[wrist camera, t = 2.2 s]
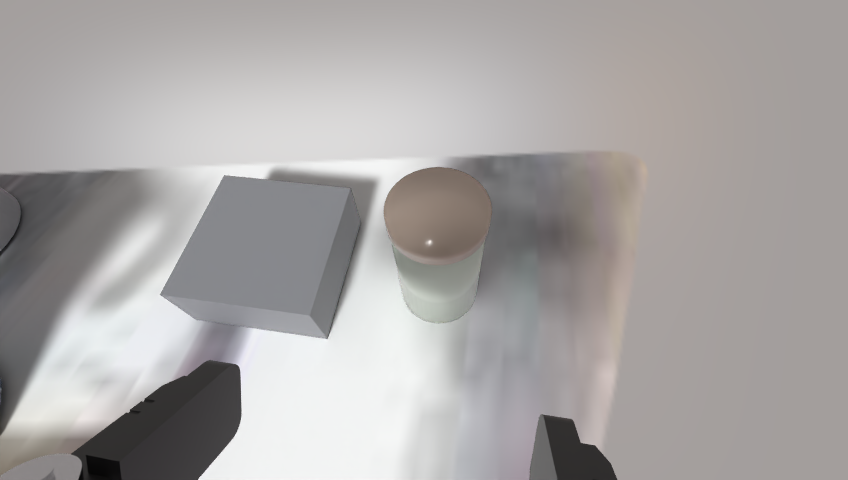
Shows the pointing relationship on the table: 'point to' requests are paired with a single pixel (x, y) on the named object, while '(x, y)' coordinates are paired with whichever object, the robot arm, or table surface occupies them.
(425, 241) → the canister
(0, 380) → the moka pot
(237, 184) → the stand
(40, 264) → the table surface
